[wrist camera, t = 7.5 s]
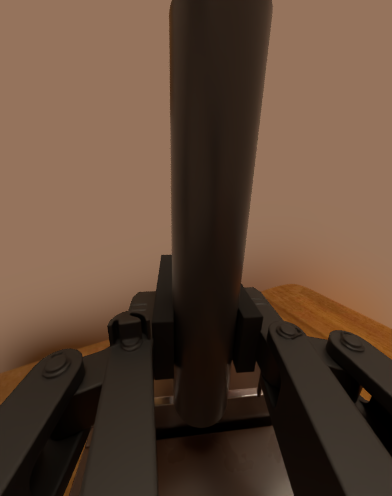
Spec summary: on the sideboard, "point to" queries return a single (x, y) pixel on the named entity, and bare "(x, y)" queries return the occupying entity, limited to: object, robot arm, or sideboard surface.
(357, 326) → the sideboard surface
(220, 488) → the knife stand
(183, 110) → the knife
